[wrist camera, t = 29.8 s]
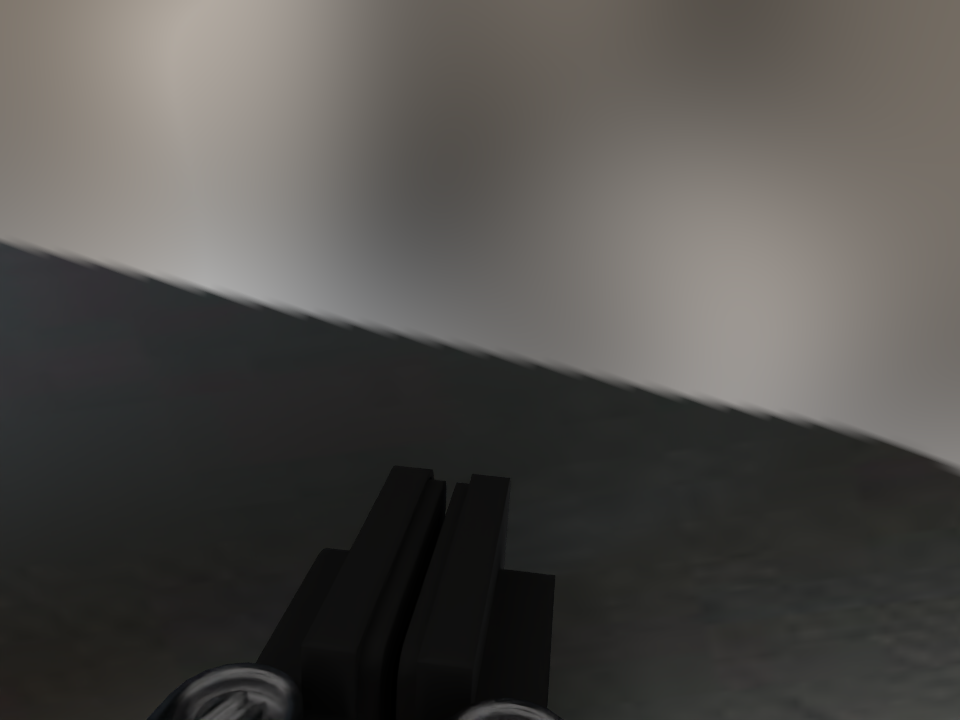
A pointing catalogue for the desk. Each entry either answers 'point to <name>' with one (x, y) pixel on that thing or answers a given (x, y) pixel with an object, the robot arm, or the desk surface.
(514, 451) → the desk surface
